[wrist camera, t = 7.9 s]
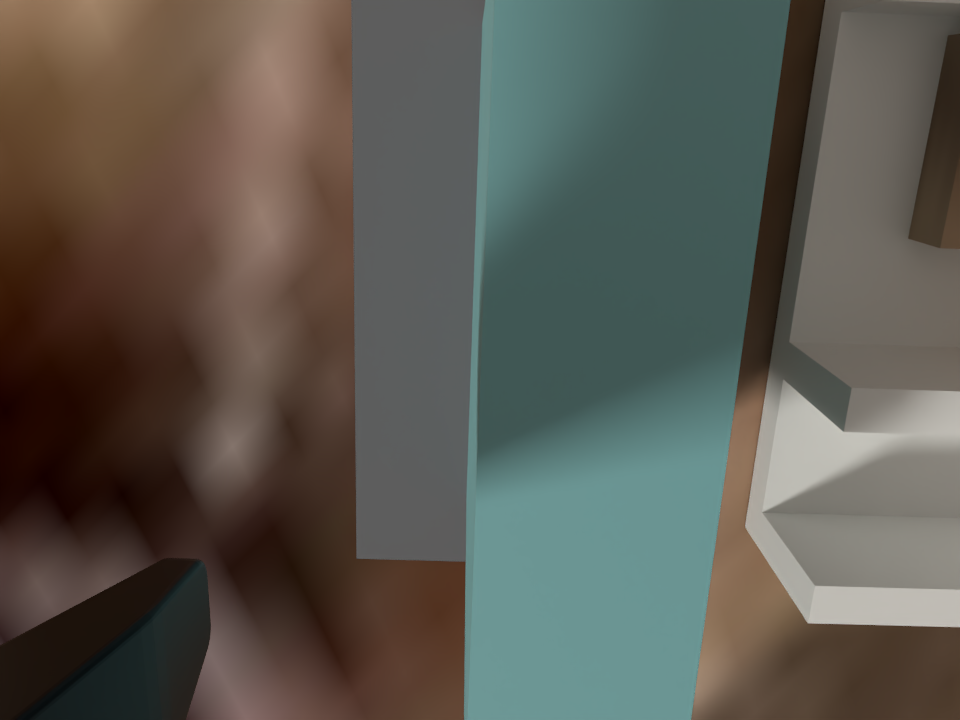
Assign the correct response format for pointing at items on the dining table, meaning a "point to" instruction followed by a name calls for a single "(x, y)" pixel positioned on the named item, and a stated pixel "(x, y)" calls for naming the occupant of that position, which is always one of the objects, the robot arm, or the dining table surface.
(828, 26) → the rack
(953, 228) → the offcut stack
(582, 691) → the teal flat block
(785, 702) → the dining table surface
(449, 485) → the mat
